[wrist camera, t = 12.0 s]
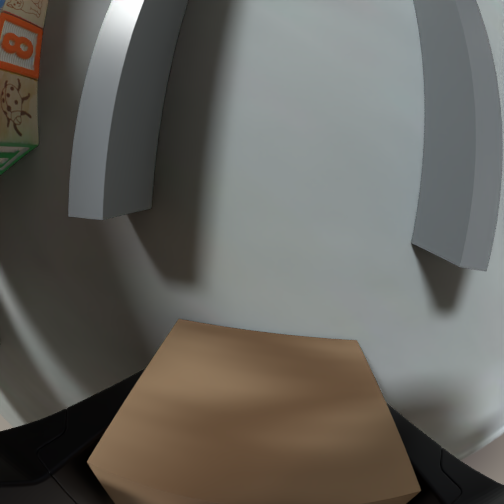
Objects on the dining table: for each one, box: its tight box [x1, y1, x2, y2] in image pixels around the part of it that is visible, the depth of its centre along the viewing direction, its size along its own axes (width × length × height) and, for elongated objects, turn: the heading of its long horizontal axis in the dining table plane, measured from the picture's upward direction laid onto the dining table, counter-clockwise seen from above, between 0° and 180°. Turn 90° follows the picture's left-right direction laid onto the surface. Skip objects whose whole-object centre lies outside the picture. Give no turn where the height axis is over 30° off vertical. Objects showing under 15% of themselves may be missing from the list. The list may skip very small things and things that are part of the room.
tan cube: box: [87, 319, 421, 504], centre depth 6 cm, size 6×6×6 cm
